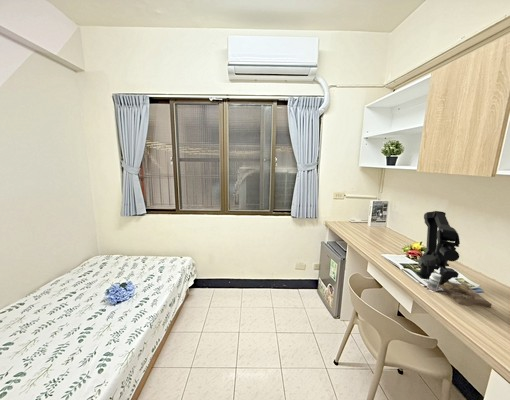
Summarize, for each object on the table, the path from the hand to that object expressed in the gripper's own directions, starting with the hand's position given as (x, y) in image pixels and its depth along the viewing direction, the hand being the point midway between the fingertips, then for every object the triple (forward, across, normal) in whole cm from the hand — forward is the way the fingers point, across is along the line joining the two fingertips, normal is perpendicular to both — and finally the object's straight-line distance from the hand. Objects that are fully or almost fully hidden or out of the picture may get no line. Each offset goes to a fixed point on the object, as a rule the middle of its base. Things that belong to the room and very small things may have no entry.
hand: (434, 279), depth 117 cm
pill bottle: (+6, 0, 0) cm, 6 cm away
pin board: (+5, +3, +12) cm, 13 cm away
